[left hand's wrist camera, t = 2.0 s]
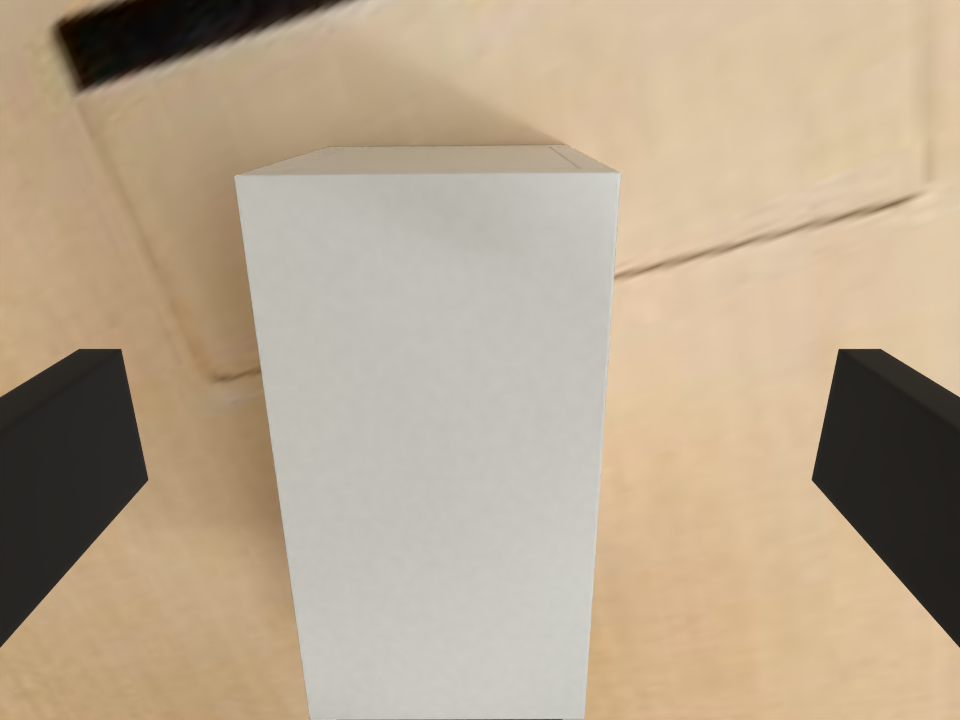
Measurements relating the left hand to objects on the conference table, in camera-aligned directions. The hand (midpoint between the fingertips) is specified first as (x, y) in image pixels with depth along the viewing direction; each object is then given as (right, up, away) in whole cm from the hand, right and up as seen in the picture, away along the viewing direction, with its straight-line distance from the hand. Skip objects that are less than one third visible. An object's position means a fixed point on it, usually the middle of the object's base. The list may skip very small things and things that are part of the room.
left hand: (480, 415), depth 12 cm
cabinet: (-1, +1, +18) cm, 18 cm away
